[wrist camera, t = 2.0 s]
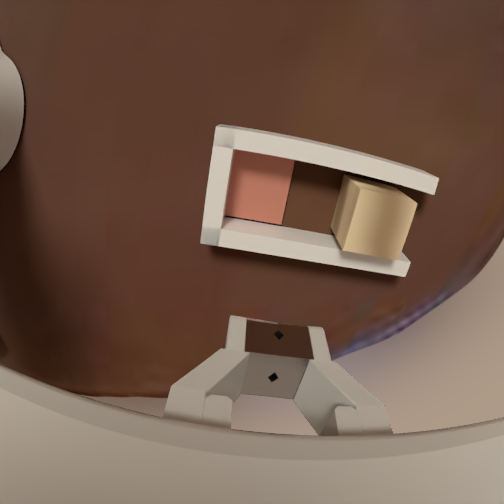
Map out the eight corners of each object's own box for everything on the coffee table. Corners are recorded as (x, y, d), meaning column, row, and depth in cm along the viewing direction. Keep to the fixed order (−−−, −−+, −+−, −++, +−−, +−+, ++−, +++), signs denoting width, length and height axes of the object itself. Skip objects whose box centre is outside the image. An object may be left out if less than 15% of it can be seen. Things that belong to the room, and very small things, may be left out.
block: (330, 226, 29) (342, 250, 24) (344, 174, 27) (360, 188, 22) (379, 236, 29) (397, 260, 25) (394, 186, 27) (417, 203, 23)
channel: (205, 229, 29) (200, 243, 27) (220, 124, 25) (216, 126, 22) (394, 261, 30) (405, 277, 28) (423, 170, 26) (439, 178, 23)
